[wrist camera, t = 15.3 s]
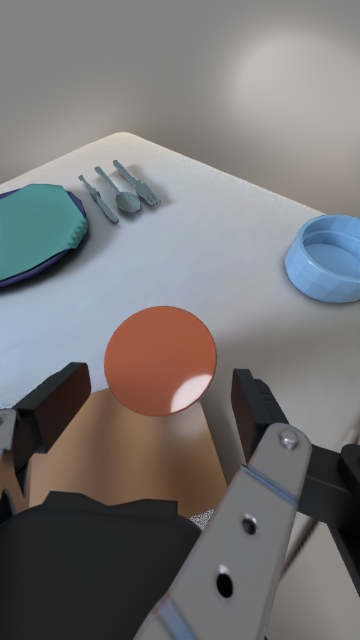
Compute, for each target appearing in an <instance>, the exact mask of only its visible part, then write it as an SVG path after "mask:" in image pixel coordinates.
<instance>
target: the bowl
mask: <svg viewBox="0 0 360 640" xmlns="http://www.w3.org/2000/svg"><path fill="white" fill-rule="evenodd" d="M285 265H286V271H287V275H288V277H289V279H290V280H291V282H292V283H293V284H294V285H295V286H296V287H297V288H298V289H299V290H300V291H301V292H303V293H304V294H306V295H308V296H310V297H312V298H314V299H317V300H320V301H324V302H330V303H342V302H354V301H358V300H360V218H357V217H353V216H347V215H339V214H334V215H322V216H319V217H316V218H313V219H311V220H308V221H307V222H306V223H305V224H304V225H303V226H302V227H301V228H300V229H299V231H298V233H297V235H296V236H295V238H294V240H293V242H292V244H291V245H290V247H289V249H288V251H287V254H286V257H285Z"/></svg>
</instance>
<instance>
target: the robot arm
mask: <svg viewBox="0 0 360 640" xmlns="http://www.w3.org/2000/svg"><path fill="white" fill-rule="evenodd" d="M90 393H91V382H90V376H89V370H88V365H87V364H86V363H81V362H71V363H69V364H68V365H67V366H66V367H64V368H63V369H62V370H61V371H59V372H57V373H55V374H53V375H51V376H50V377H48V378H47V379H46V380H45V381H43V382H42V384H40V385H39V386H37V387H36V389H34V390H33V391H31V392H30V393H29V394H28V395H27V396H25V397H24V398H23V399H22V400H20V401H19V402H18V403H17V404H16V405H14V406H13V407H12V408H4V409H0V640H268V639H267V637H266V636H265V633H266V629H267V625H268V621H269V617H270V614H271V610H272V606H273V602H274V598H275V594H276V590H277V586H278V582H279V578H280V575H281V571H282V567H283V563H284V559H285V555H286V551H287V547H288V543H289V539H290V535H291V532H292V528H293V524H294V520H295V516H296V512H297V511H298V512H301V513H303V514H305V515H308V516H310V517H312V518H314V519H317V520H319V521H321V522H324V523H326V524H327V526H328V528H329V530H330V532H331V534H332V537H333V539H334V541H335V543H336V545H337V548H338V550H339V552H340V555H341V557H342V559H343V561H344V563H345V566H346V568H347V570H348V572H349V574H350V577H351V579H352V581H353V584H354V586H355V588H356V590H357V592H358V594H359V597H360V445H356V444H347V445H345V446H343V448H342V449H341V453H337V452H334V451H331V450H328V449H325V448H321V447H318V446H316V445H313V444H311V442H310V441H309V439H308V438H307V436H306V435H305V434H304V433H302V432H301V431H300V430H298V429H297V428H295V427H293V426H291V425H290V424H289V422H288V420H287V419H286V417H285V415H284V413H283V412H282V410H281V408H280V406H279V405H278V403H277V401H276V399H275V398H274V396H273V395H272V392H271V390H270V389H269V387H268V385H266V384H265V383H264V382H263V381H262V380H260V379H254V378H253V376H252V374H251V372H250V370H249V369H235V368H234V370H233V378H232V389H231V403H232V408H233V412H234V416H235V420H236V424H237V428H238V432H239V436H240V440H241V444H242V448H243V452H244V456H245V460H246V464H247V466H245V465H244V464H243V465H241V467H240V468H239V469H238V471H237V473H236V474H235V476H234V478H233V480H232V481H231V483H230V485H229V487H228V488H227V490H226V492H225V493H224V495H223V497H222V499H221V500H220V502H219V504H218V505H217V507H216V509H215V511H214V512H213V514H212V516H211V518H210V519H209V521H208V523H207V524H206V526H205V528H204V530H203V531H202V530H201V529H200V528H199V527H198V526H197V525H196V524H195V523H193V522H192V521H191V520H189V519H187V518H186V517H184V516H182V515H180V514H178V501H172V500H160V499H147V498H145V499H140V500H136V501H131V502H127V503H122V504H118V505H113V506H108V505H105V504H103V503H101V502H99V501H97V500H94V499H92V498H90V497H88V496H86V495H84V494H82V493H74V492H62V491H50V492H49V493H48V495H47V497H46V498H45V500H44V501H43V503H42V504H40V505H37V506H34V507H31V508H29V500H30V483H31V466H32V463H31V459H30V458H31V457H32V456H33V454H34V453H39V454H47V453H48V452H49V450H50V449H51V448H52V446H53V445H54V444H55V442H56V441H57V440H58V438H59V437H60V436H61V434H62V433H63V432H64V430H65V429H66V428H67V426H68V425H69V424H70V422H71V421H72V420H73V418H74V417H75V416H76V414H77V413H78V412H79V410H80V409H81V408H82V406H83V405H84V404H85V402H86V401H87V400H88V398H89V396H90Z"/></svg>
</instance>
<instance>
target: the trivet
mask: <svg viewBox="0 0 360 640" xmlns="http://www.w3.org/2000/svg"><path fill="white" fill-rule="evenodd" d="M30 459H31V463H32V466H31V483H30V500H29V508H31V507H34V506H37V505H40V504H42V503H43V501H44V500H45V498H46V497H47V495H48V493H49V492H50V491H62V492H74V493H82V494H84V495H86V496H88V497H90V498H92V499H94V500H97V501H99V502H101V503H103V504H105V505H108V506H113V505H118V504H122V503H127V502H131V501H136V500H140V499H145V498H147V499H160V500H172V501H178V514H180V515H182V516H184V517H186V518H190V517H192V516H195V515H198V514H200V513H203V512H205V511H208V510H211V509H213V508H216V507H217V505H218V504H219V502H220V500H221V499H222V497H223V495H224V493H225V492H226V490H227V488H228V485H227V482H226V479H225V476H224V473H223V470H222V467H221V463H220V460H219V457H218V454H217V451H216V448H215V445H214V442H213V439H212V435H211V432H210V429H209V426H208V423H207V420H206V417H205V414H204V410H203V407H202V404H200V405H199V407H198V408H197V409H196V410H195V411H194V412H193V413H191V414H190V415H188V416H186V417H184V418H181V419H165V418H157V417H151V416H144V415H141V414H138V413H135V412H133V411H131V410H129V409H128V408H126V407H125V406H123V405H122V404H121V403H120V402H119V401H118V400H117V399H116V398H115V396H114V395H113V394H112V392H111V390H110V388H108V389H105V390H101V391H98V392H95V393H92V394H90V396H89V398H88V400H87V401H86V402H85V404H84V405H83V406H82V408H81V409H80V410H79V412H78V413H77V414H76V416H75V417H74V418H73V420H72V421H71V422H70V424H69V425H68V426H67V428H66V429H65V430H64V432H63V433H62V434H61V436H60V437H59V438H58V440H57V441H56V442H55V444H54V445H53V446H52V448H51V449H50V450H49V452H48V453H47V454H39V453H34V454H33V456H32V457H31V458H30Z"/></svg>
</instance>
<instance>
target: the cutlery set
mask: <svg viewBox="0 0 360 640" xmlns="http://www.w3.org/2000/svg"><path fill="white" fill-rule="evenodd" d="M113 164H114V166H115V167H116V168H117V169H118V170H119V171H120V172H121V173H122V174H123V175H124V176H125V177H126V178H127V179H128V180H129V181H130V182H132V183H133V184H134V185H135V186H136V187H135V189H136V193H137V194H139V195H140V196H141V197H142V198H144V199H145V200H146V201H147V202H148V203H149V204H151V205H154V204H153V203H152V202H154V203H155V204H157V202H156V201H158V202H161V201H160V200H159V199H158V198H157V197H156V196H155V194H154V193H153V192H152V191H151V189H150V188H149V187H148V186H147V184H146V183H141V182H140V180H138V181H137V180H136V179H135V178H134V177H132V176H131V175H130V174H129V173H128V172H127V171H126V170H125V169H124V167H123V166H122V165H121V164H120V163H119V162H118V161H117V160H114V161H113ZM94 169H95V171H96V172H97V173H98V174H99V175H100V176H101V177H102V178H103V179H104V180H105V181H106V182H107V183H108V184H109V185H110V186H111V187H112V188H113V189H114V190H115V192H116V193H117V195H116V198H115V201H116V203H117V205H118V207H119V208H121V209H122V210H124V211H127V212H135V211H137V210H140V206H141V202H140V201H139V199H138V197H137V196H135V195H133V194H132V193H128V192H119V190H118V189H117V188H116V186H115V185H114V184H113V183H112V181H111V180H110V179H109V178H108V176H107V175H106V174H105V173H104V172H103V171H102V169H101V168H100V167H99V166H98V167H96V168H94ZM79 179H80V181H81V180H82V181H83V182H84V183H85V184H86V186H87V187H88V189H89V190H90V193H91V195H92V196H93V198H94V200H95V201H97V202H98V203H99V205H100V207H101V208H102V210H103V211H104V212H105V213H106V215H107V216H108V217H109V218H110V219H111V220H113V221H115V222H119V219H118V218H117V217H116V216H115V215H114V213H113V212H112V211H111V210H110V209H109V207H108V206H107V205H106V204H105V203H104V201H103V200H102V199H101V196H100V193H99V191H98V192H97V191H96V189H95V188H92V187H91V186H90V185H89V184H88V183H87V182H86V181H85V179H84V178H83V175H81V176H79ZM152 197H153V198H154V199H155V200H156V201H155V200H154V199H153V198H152ZM149 199H150V200H151V201H152V202H151V201H150V200H149ZM85 217H86V213H85V210H84V208H83V205H82V202H81V200H80V199H78V198H77V197H76V196H75V195H74V194H72V193H71V192H69V191H66V190H65V189H64V188H63V186H60V185H51V184H30V185H27V186H25V187H23V188H21V189H17V190H13V191H10V192H6V193H3V194H0V286H6V285H8V284H11V283H14V282H17V281H20V280H22V279H25V278H28V277H31V276H33V275H35V274H36V273H38V272H40V271H41V270H43V269H45V268H46V267H48V266H50V265H51V264H53V263H55V262H56V261H57V260H59V259H60V258H61V257H62V256H63V255H64V254H65V253H66V252H67V251H68V250H69V249H70V248H78V244H79V243H80V241H81V239H82V238H83V237H84V234H86V233H87V229H88V225H87V221H86V220H85Z"/></svg>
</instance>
